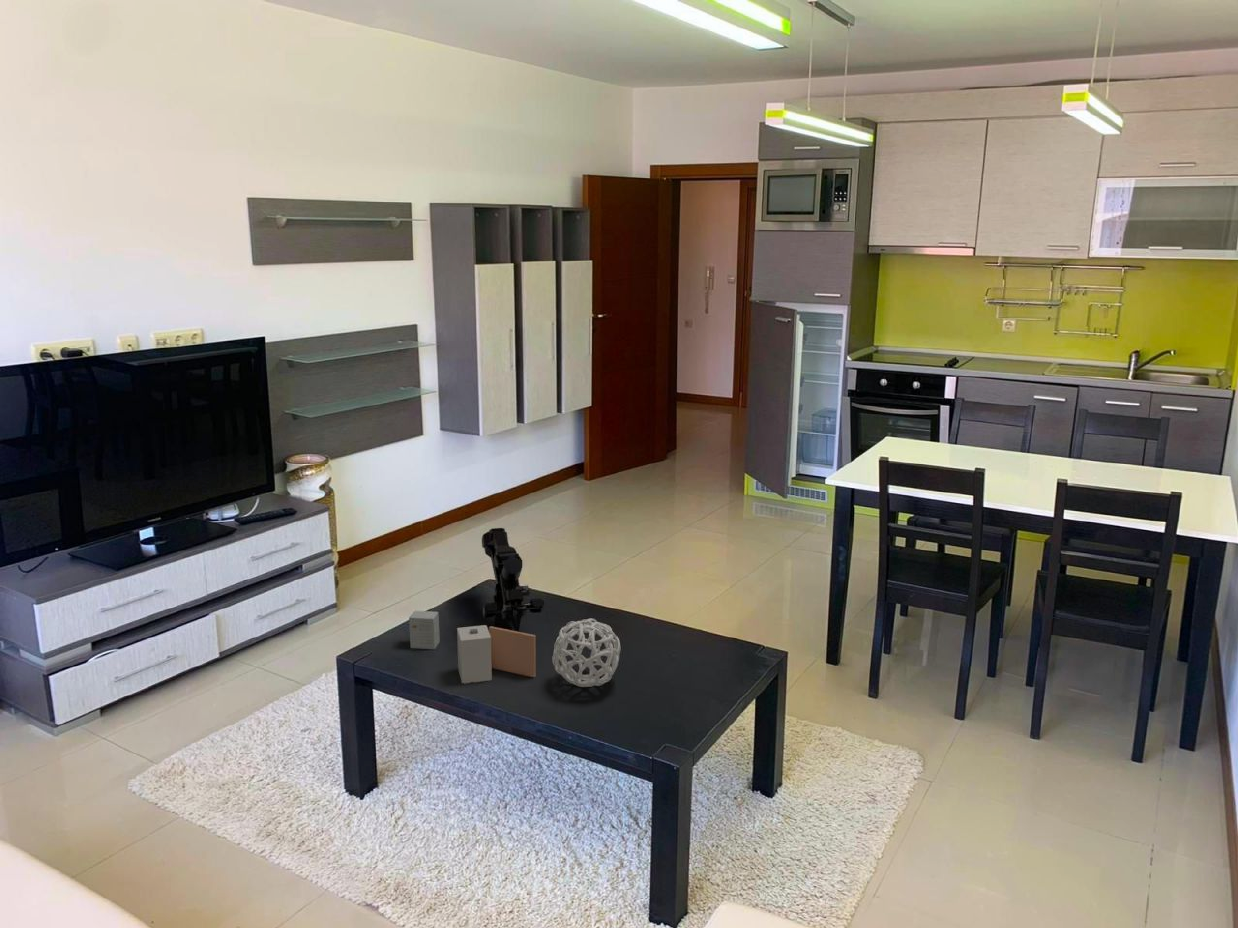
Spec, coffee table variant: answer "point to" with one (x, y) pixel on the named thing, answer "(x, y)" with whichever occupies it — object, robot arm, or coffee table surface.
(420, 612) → the small box
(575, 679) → the decorative ball
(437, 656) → the coffee table surface
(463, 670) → the beige rectangular box
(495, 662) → the side door
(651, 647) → the coffee table surface
